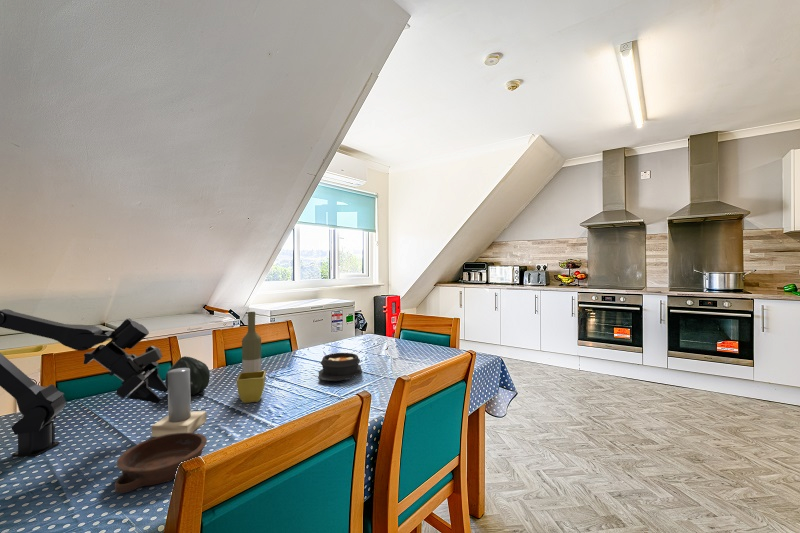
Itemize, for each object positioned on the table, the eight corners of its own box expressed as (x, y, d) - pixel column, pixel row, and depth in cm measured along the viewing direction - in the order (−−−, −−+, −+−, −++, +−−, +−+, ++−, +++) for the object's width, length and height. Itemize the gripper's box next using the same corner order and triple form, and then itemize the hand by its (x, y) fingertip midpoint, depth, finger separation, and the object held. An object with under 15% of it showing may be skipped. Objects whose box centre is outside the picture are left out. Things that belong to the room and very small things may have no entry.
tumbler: (178, 423, 102) (177, 374, 102) (163, 421, 104) (162, 372, 104) (195, 415, 107) (194, 368, 107) (181, 413, 109) (180, 367, 109)
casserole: (350, 387, 142) (350, 365, 142) (307, 383, 146) (306, 362, 146) (370, 369, 166) (370, 351, 166) (332, 366, 170) (332, 349, 170)
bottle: (258, 386, 143) (258, 310, 143) (264, 391, 137) (263, 312, 137) (239, 389, 138) (239, 311, 138) (244, 395, 133) (244, 313, 133)
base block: (187, 436, 101) (187, 425, 101) (151, 436, 101) (151, 425, 101) (206, 421, 111) (206, 411, 111) (173, 421, 111) (173, 411, 111)
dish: (228, 449, 94) (227, 429, 94) (158, 504, 72) (158, 479, 72) (169, 443, 97) (169, 425, 97) (85, 495, 75) (85, 471, 75)
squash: (210, 369, 148) (182, 345, 141) (223, 378, 137) (194, 353, 130) (180, 398, 141) (150, 375, 133) (192, 410, 130) (159, 386, 123)
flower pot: (236, 406, 122) (236, 379, 122) (240, 397, 131) (240, 372, 131) (263, 403, 125) (263, 377, 125) (266, 394, 133) (265, 370, 133)
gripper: (132, 346, 94) (180, 384, 98) (151, 333, 111) (191, 366, 115) (93, 379, 91) (145, 417, 95) (119, 361, 108) (162, 394, 112)
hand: (163, 396), depth 104 cm, fingers open, 9 cm apart
